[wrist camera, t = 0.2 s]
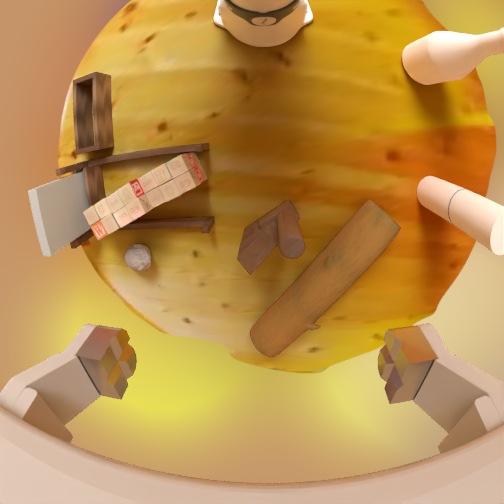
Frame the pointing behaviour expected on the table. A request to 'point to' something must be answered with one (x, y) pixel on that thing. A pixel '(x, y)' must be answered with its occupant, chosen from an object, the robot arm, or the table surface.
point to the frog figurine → (138, 257)
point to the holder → (100, 112)
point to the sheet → (59, 212)
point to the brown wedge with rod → (272, 237)
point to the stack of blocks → (145, 194)
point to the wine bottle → (449, 55)
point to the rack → (97, 193)
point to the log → (325, 279)
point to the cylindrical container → (465, 211)
